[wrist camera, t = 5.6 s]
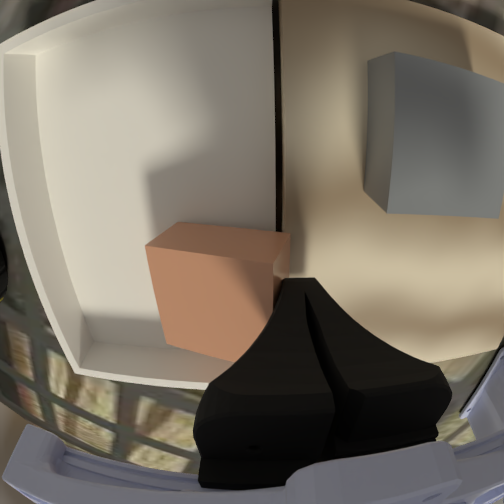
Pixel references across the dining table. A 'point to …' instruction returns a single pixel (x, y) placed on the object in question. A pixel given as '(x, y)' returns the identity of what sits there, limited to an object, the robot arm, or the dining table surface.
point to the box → (134, 163)
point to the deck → (353, 173)
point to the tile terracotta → (216, 285)
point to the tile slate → (433, 138)
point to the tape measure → (3, 277)
